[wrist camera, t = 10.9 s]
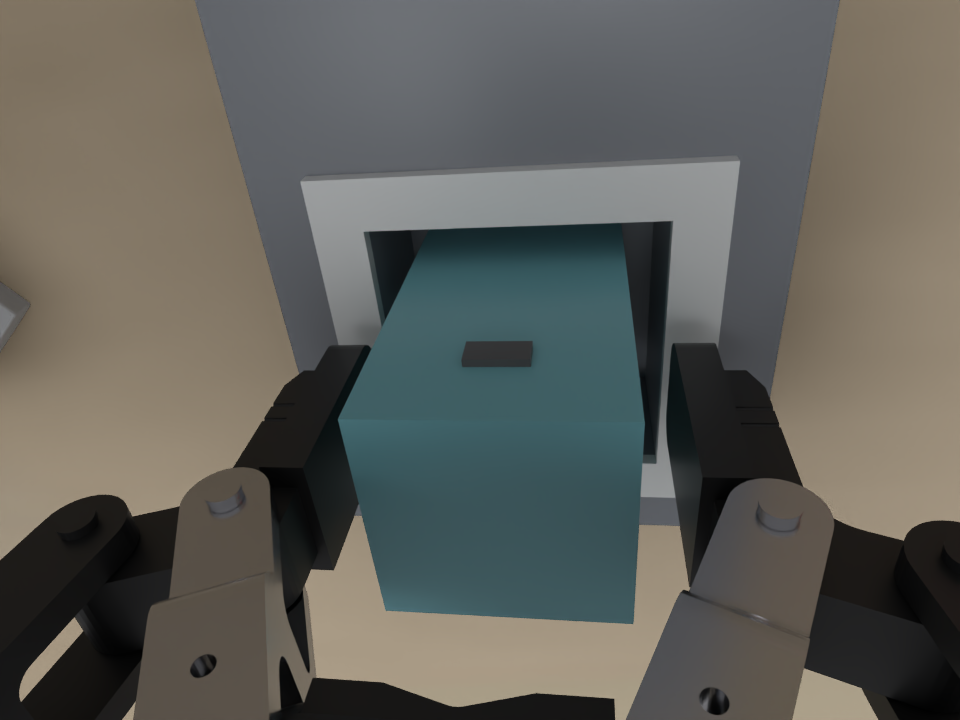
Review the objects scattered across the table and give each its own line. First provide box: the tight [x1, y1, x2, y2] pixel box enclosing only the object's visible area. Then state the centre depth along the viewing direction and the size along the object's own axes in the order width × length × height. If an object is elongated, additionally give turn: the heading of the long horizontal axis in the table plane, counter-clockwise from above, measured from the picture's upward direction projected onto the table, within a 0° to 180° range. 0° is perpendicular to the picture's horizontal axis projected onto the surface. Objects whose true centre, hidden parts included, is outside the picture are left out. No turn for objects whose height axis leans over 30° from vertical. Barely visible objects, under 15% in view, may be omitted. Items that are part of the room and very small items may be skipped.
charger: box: [338, 223, 645, 624], centre depth 13 cm, size 4×4×8 cm
